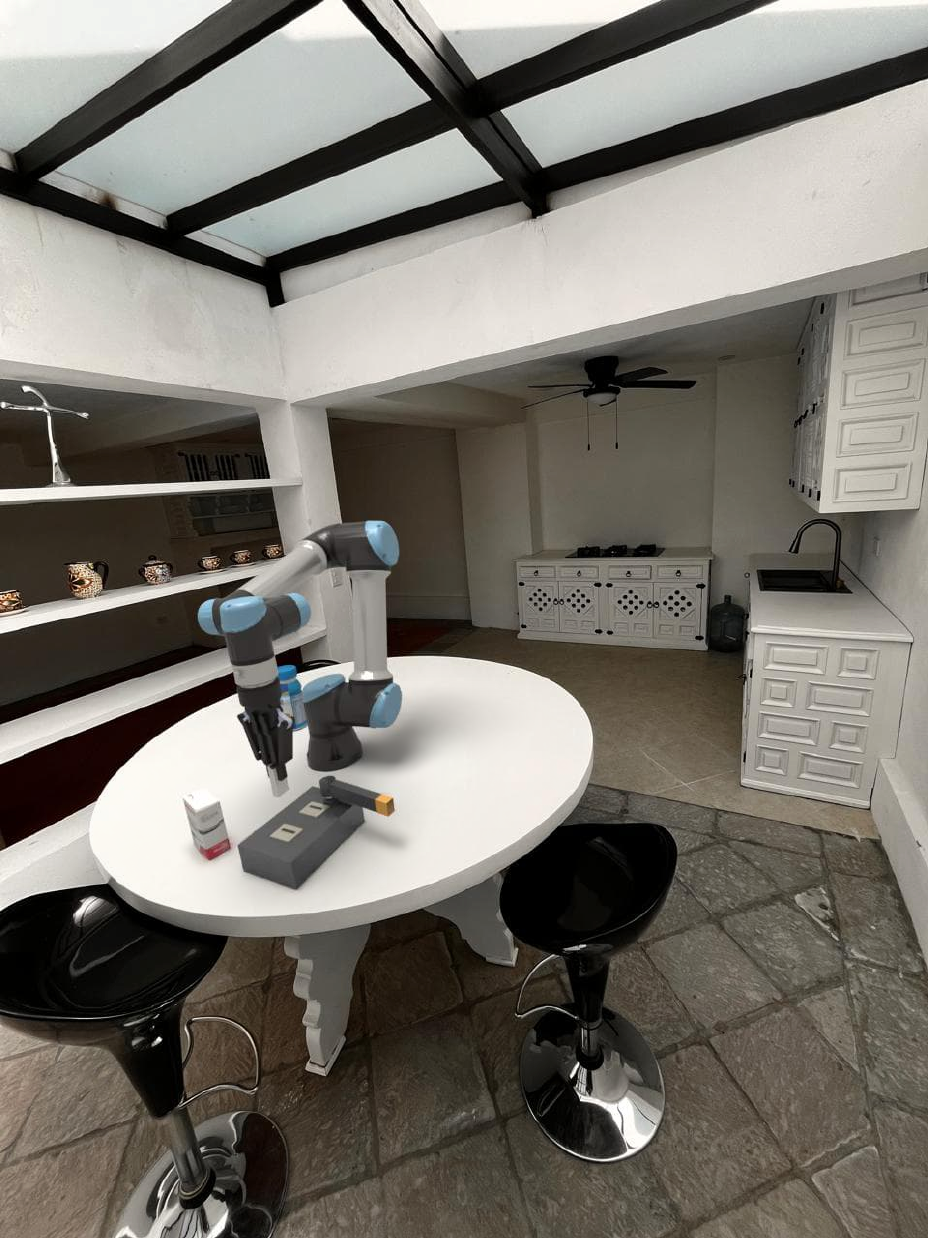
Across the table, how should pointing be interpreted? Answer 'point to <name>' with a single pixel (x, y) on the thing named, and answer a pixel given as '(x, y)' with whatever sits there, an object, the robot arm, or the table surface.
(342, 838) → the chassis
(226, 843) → the ink box
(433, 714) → the table surface
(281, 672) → the beverage bottle
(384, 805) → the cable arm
